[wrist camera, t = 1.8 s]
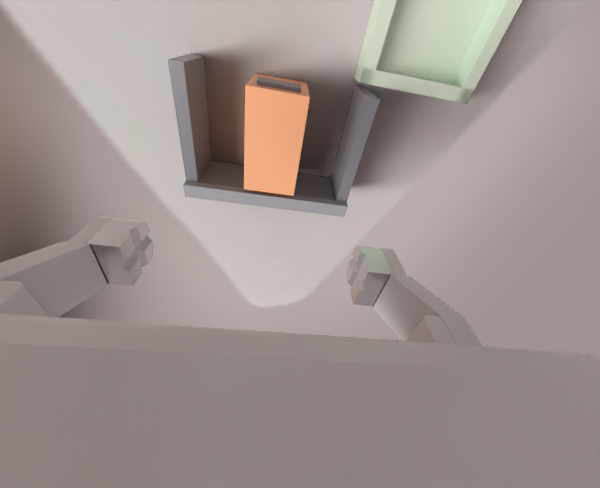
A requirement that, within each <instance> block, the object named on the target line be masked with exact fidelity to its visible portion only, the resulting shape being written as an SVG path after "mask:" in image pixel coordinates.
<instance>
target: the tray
mask: <svg viewBox="0 0 600 488" xmlns="http://www.w3.org/2000/svg"><path fill="white" fill-rule="evenodd" d="M521 2H522V0H374V2H373V6H372V10H371V14H370V17H369V21H368V25H367V29H366V33H365V37H364V41H363V45H362V49H361V53H360V56H359V60H358V64H357V68H356V72H355V76H354V79H356V80H357V81H358V82H359V83H363V84H368V85H374V86H379V87H384V88H389V89H394V90H399V91H404V92H409V93H414V94H420V95H425V96H430V97H435V98H440V99H445V100H450V101H455V102H460V103H466V104H467V102H468V101H469V99H470V97H471V95H472V93H473V91H474V89H475V88H476V86H477V84H478V82H479V80H480V78H481V76H482V75H483V73H484V71H485V69H486V67H487V65H488V63H489V62H490V60H491V58H492V56H493V54H494V52H495V50H496V49H497V47H498V45H499V43H500V41H501V39H502V37H503V36H504V34H505V32H506V30H507V28H508V26H509V24H510V23H511V21H512V19H513V17H514V15H515V13H516V11H517V10H518V8H519V6H520V4H521Z"/></svg>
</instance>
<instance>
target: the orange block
mask: <svg viewBox="0 0 600 488" xmlns="http://www.w3.org/2000/svg"><path fill="white" fill-rule="evenodd" d="M309 101H310V94H309V90H308V85H307V83H305V82H300V81H295V80H290V79H284V78H279V77H274V76H269V75H263V74H258V73H255V74H254V75H253V77H252V78H251V79H250V80H249V81H248V82H247V84H246V85H245V138H244V189H246V190H253V191H261V192H268V193H275V194H283V195H290V196H294V191H295V185H296V179H297V173H298V167H299V161H300V155H301V149H302V143H303V137H304V131H305V125H306V119H307V113H308V107H309Z"/></svg>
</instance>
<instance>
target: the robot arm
mask: <svg viewBox="0 0 600 488" xmlns="http://www.w3.org/2000/svg"><path fill="white" fill-rule="evenodd" d="M148 232H149V228H148V224H147V223H145V222H143V221H135V220H128V219H121V218H113V217H104V216H100V217H96V218H95V219H94V220H93V221H92V222H90V223H89V224H88V225H87V226H86V227H85V228H83V229H82V230H81V231H80V232H79V233H78V234H77V235H75V236H74V237H73V238H72V239H70V240H69V241H68V242H60V243H57V244H55V245H51V246H49V247H46V248H43V249H40V250H37V251H34V252H31V253H28V254H25V255H22V256H19V257H17V258H13V259H11V260H8V261H5V262H2V263H0V488H600V356H597V355H593V354H588V353H580V352H564V351H548V350H533V349H518V348H504V347H489V346H488V347H487V346H482V344H481V343H480V341H479V340H478V338H477V336H476V335H475V333H474V332H473V330H472V329H471V327H470V325H469V324H468V322H467V321H466V319H465V318H464V317H463V316H462V315H461V314H459V313H458V312H457V311H455V310H454V309H453V308H451V307H450V306H449V305H447V304H446V303H445V302H443V301H442V300H441V299H439V298H438V297H437V296H435V295H434V294H433V293H431V292H430V291H429V290H427V289H426V288H425V287H424V286H422V285H421V284H419V283H418V282H417V281H415V280H414V279H413V278H412V277H407V275H406V273H405V271H404V269H403V267H402V266H401V263H400V261H399V259H398V257H397V256H396V254H395V252H394V250H392V249H386V248H371V247H362V246H356V247H355V249H354V251H353V256H354V259H352V260H351V261H350V262H349V265H348V268H347V280H348V283H349V284H350V285H351V286H352V288H351V290H350V292H351V297H352V301H353V304H357V305H366V306H373V308H374V309H375V310H376V311H377V312H378V314H379V315H380V316H381V317H382V318H383V319H384V321H385V322H386V323H387V324H388V325H389V326H390V328H391V329H392V330H393V331H394V332H395V334H396V335H397V336H398V337H399V338H400V340H386V339H369V338H355V337H341V336H327V335H312V334H298V333H283V332H268V331H254V330H239V329H224V328H210V327H195V326H180V325H165V324H150V323H135V322H121V321H106V320H91V319H77V318H62V317H59V316H60V315H62V314H64V313H65V312H67V311H68V310H70V309H72V308H73V307H74V306H76V305H78V304H79V303H81V302H83V301H84V300H85V299H87V298H89V297H90V296H92V295H93V294H95V293H97V292H98V291H100V290H101V289H103V288H105V287H106V286H108V284H118V285H134V284H135V283H136V281H137V279H138V278H139V276H140V275H141V274H142V269H141V267H143V266H145V265H147V264H148V263H149V262H150V260H151V258H152V255H153V242H152V240H151V239H150V238H149V237H148V236H147V234H148Z"/></svg>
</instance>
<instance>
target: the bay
mask: <svg viewBox="0 0 600 488" xmlns="http://www.w3.org/2000/svg"><path fill="white" fill-rule="evenodd" d="M168 64H169V70H170V77H171V83H172V90H173V96H174V103H175V110H176V116H177V123H178V129H179V136H180V142H181V149H182V156H183V162H184V169H185V175H186V182H185V183H184V185H183V186H184V192H185V197H192V198H200V199H208V200H216V201H223V202H231V203H239V204H247V205H255V206H263V207H271V208H278V209H286V210H294V211H302V212H310V213H318V214H326V215H334V216H341V217H344V216H345V213H346V210H347V207H348V206H347V203H346V202H347V199H348V196H349V193H350V190H351V187H352V184H353V181H354V178H355V175H356V172H357V169H358V166H359V163H360V159H361V156H362V153H363V150H364V147H365V144H366V141H367V138H368V135H369V132H370V129H371V126H372V123H373V120H374V117H375V114H376V111H377V108H378V105H379V102H380V99H379V98H378V97H377V96H375V95H374V94H373V93H372V92H371V91H369V90H368V89H367V88H366V87H361V86H356V85H355V87H354V91H353V95H352V98H351V102H350V106H349V110H348V114H347V117H346V121H345V125H344V129H343V133H342V136H341V140H340V144H339V148H338V152H337V155H336V159H335V163H334V167H333V171H332V174H331V178H326V177H320V176H313V175H306V174H299V173H297V179H296V185H295V191H294V196H290V195H283V194H275V193H268V192H261V191H253V190H246V189H244V165H237V164H230V163H223V162H216V161H212V158H211V145H210V131H209V118H208V104H207V91H206V77H205V64H204V56H201V55H196V54H188V55H184V56H180V57H176V58H172V59H168Z"/></svg>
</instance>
